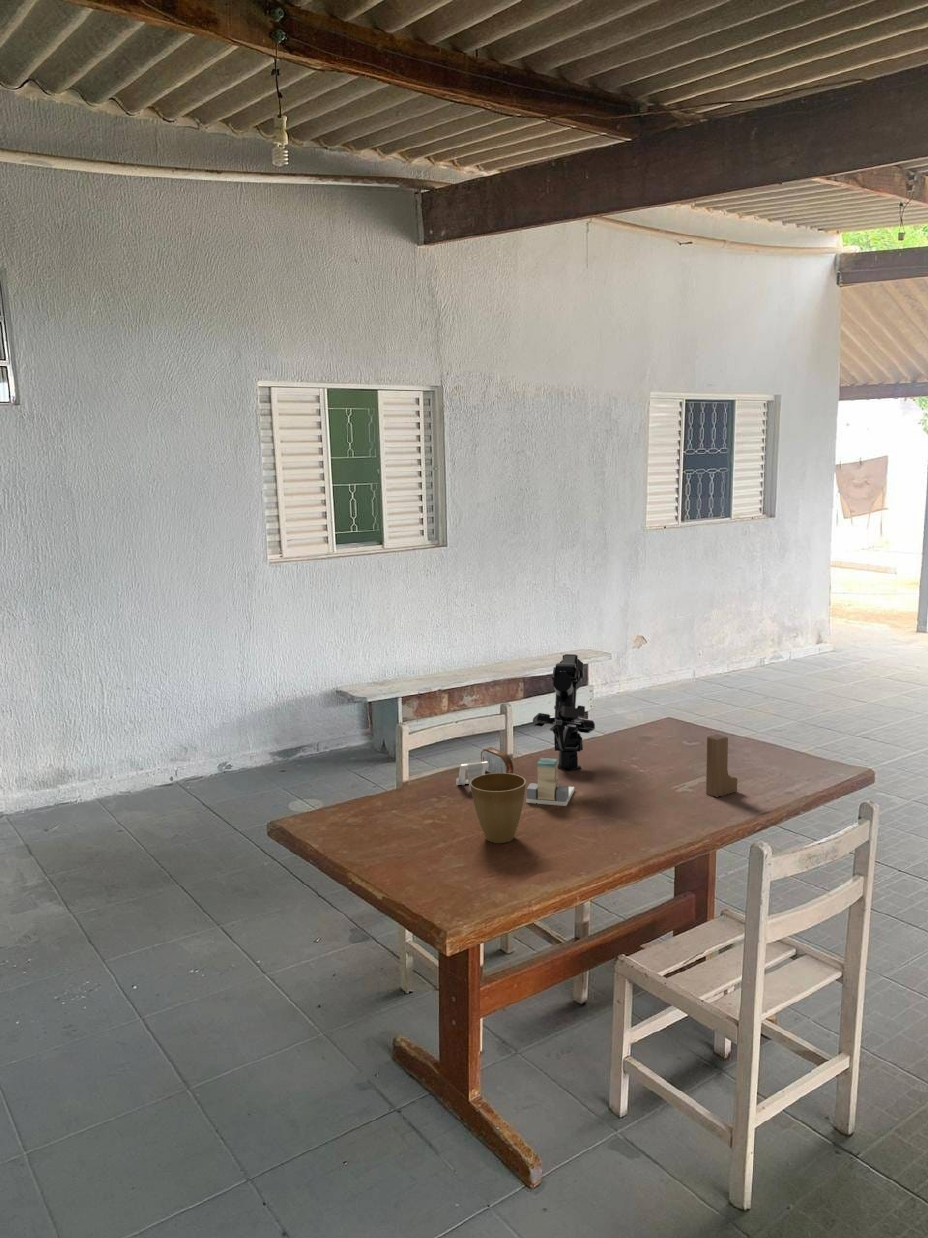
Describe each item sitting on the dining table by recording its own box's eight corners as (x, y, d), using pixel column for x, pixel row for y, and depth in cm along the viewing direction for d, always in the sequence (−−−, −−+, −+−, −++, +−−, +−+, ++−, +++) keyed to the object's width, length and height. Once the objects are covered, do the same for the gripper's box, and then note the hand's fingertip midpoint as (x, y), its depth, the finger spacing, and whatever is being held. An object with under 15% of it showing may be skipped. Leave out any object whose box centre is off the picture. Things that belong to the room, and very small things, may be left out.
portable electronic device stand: (481, 781, 295) (481, 756, 294) (490, 789, 288) (489, 763, 286) (456, 785, 292) (455, 759, 291) (464, 793, 285) (463, 766, 284)
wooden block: (726, 788, 283) (727, 731, 280) (737, 792, 279) (738, 734, 277) (705, 794, 278) (706, 736, 276) (717, 798, 275) (718, 739, 272)
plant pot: (497, 823, 259) (496, 768, 256) (538, 837, 248) (537, 780, 246) (459, 839, 249) (458, 782, 246) (500, 854, 238) (499, 794, 236)
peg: (541, 793, 278) (540, 758, 277) (557, 794, 277) (557, 759, 275) (537, 798, 273) (537, 763, 272) (554, 800, 272) (554, 764, 270)
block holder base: (536, 787, 288) (535, 774, 287) (574, 790, 284) (574, 777, 283) (526, 802, 275) (526, 788, 274) (566, 806, 271) (566, 791, 271)
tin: (514, 780, 295) (514, 754, 294) (506, 782, 294) (506, 756, 292) (487, 768, 308) (486, 744, 306) (479, 770, 306) (478, 746, 305)
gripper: (543, 690, 282) (541, 740, 276) (601, 698, 285) (600, 748, 280) (533, 700, 292) (530, 748, 286) (589, 708, 296) (587, 756, 290)
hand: (562, 750), depth 285 cm, fingers closed
